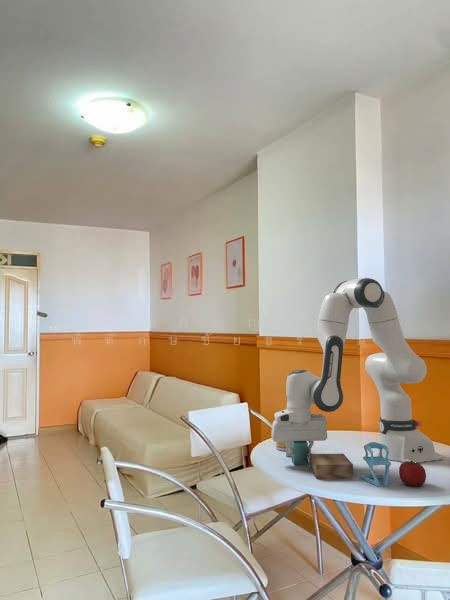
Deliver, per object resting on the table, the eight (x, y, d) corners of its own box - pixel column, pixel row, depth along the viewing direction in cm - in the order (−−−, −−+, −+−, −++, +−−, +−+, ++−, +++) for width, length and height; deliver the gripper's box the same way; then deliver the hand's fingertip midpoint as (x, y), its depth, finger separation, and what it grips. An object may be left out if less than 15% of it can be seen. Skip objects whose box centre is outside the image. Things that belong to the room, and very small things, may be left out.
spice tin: (304, 461, 159) (304, 439, 159) (308, 465, 154) (307, 442, 154) (291, 461, 158) (291, 439, 159) (294, 465, 153) (294, 443, 154)
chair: (370, 487, 132) (369, 448, 133) (360, 477, 140) (359, 440, 141) (395, 486, 132) (393, 447, 133) (383, 477, 141) (382, 440, 141)
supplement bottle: (293, 451, 171) (292, 418, 172) (276, 451, 172) (276, 418, 172) (291, 446, 178) (290, 415, 179) (275, 446, 178) (274, 415, 179)
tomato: (400, 478, 139) (400, 455, 140) (427, 482, 135) (427, 459, 136) (396, 486, 133) (395, 462, 133) (425, 491, 129) (424, 466, 129)
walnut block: (343, 467, 151) (343, 453, 152) (353, 480, 139) (353, 464, 140) (309, 468, 152) (309, 453, 152) (316, 480, 140) (316, 464, 140)
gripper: (324, 412, 161) (325, 449, 160) (270, 413, 160) (270, 451, 159) (329, 415, 155) (330, 454, 154) (273, 417, 153) (273, 456, 152)
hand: (299, 453), depth 156 cm, fingers closed on spice tin, 5 cm apart
